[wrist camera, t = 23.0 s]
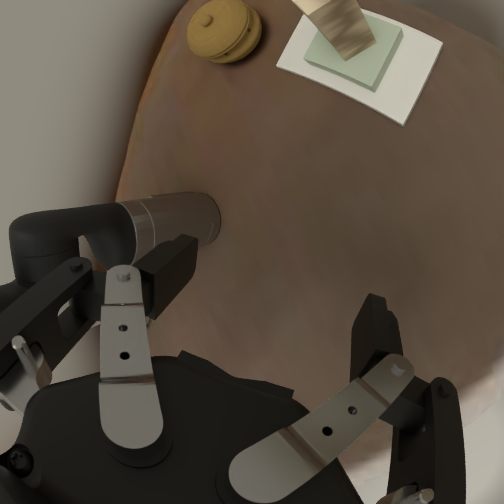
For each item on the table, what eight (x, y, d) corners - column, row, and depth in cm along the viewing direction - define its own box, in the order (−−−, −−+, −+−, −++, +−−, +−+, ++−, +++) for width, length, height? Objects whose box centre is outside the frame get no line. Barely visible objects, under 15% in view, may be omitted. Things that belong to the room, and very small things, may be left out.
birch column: (345, 61, 28) (307, 15, 18) (324, 36, 29) (280, -11, 19) (376, 43, 25) (350, -11, 16) (353, 18, 26) (319, -35, 16)
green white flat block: (280, 68, 37) (267, 60, 34) (317, 1, 30) (307, -12, 27) (403, 127, 30) (401, 120, 27) (442, 47, 23) (443, 34, 20)
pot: (204, 48, 43) (164, 33, 35) (245, 4, 36) (208, -20, 28) (237, 81, 41) (194, 65, 33) (285, 32, 35) (249, 4, 27)
